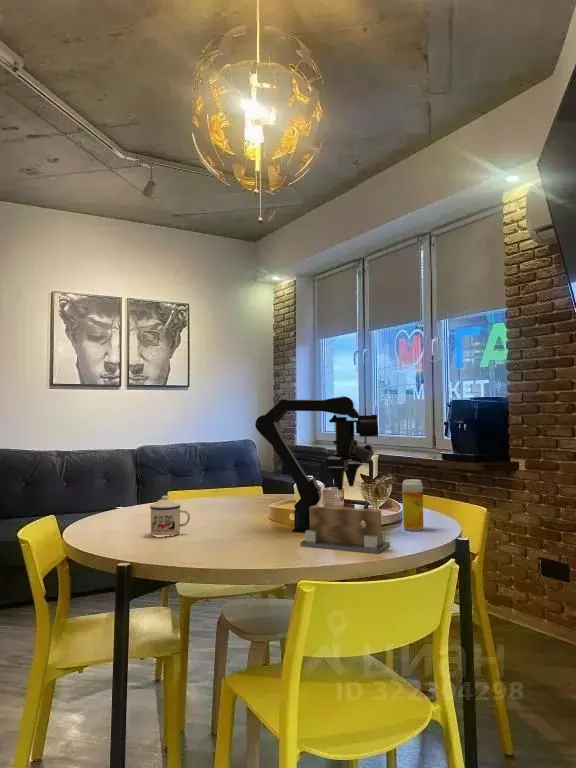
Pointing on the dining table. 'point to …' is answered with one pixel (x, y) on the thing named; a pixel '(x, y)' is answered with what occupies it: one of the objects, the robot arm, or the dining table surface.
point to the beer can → (412, 505)
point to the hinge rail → (368, 546)
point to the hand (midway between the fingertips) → (345, 488)
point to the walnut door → (345, 524)
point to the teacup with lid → (166, 517)
